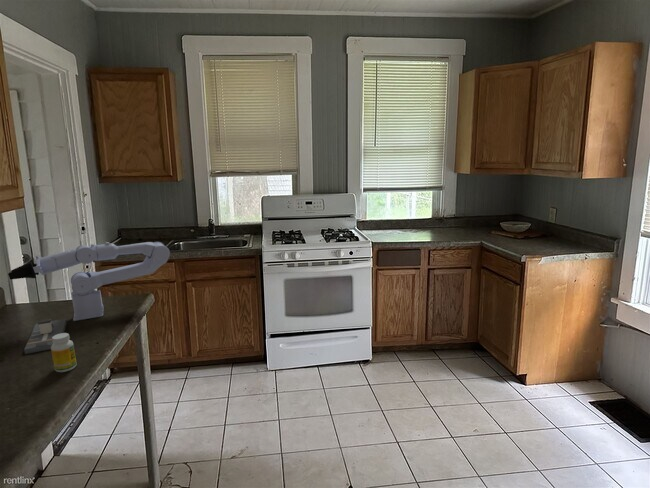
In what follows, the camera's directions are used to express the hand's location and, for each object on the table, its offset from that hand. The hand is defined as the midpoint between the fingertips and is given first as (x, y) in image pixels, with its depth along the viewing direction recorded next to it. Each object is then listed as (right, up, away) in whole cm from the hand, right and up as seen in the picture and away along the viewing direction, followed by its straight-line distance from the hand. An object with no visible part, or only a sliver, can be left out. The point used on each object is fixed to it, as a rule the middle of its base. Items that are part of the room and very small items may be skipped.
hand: (10, 275), depth 146 cm
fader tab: (+14, -18, -4) cm, 23 cm away
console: (+14, -20, -3) cm, 25 cm away
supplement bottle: (+33, -24, -24) cm, 47 cm away
